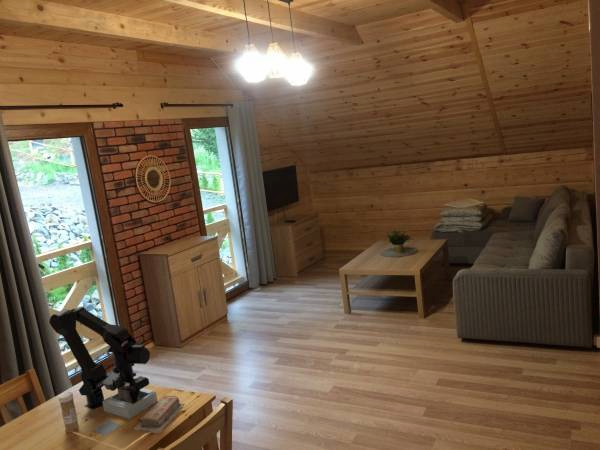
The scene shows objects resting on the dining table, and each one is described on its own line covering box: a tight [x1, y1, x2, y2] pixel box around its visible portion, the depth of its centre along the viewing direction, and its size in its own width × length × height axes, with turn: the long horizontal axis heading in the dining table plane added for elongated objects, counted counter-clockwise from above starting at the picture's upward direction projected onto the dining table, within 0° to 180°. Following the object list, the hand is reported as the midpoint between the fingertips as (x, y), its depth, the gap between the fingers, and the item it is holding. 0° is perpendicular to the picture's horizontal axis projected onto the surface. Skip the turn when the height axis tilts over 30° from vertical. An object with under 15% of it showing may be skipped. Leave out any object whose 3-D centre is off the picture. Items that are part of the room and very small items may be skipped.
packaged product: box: [133, 395, 186, 434], centre depth 186 cm, size 18×5×10 cm
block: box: [116, 384, 140, 405], centre depth 195 cm, size 4×6×8 cm, turn 147°
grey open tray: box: [102, 387, 158, 420], centre depth 196 cm, size 14×13×5 cm
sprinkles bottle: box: [58, 391, 80, 434], centre depth 184 cm, size 5×5×14 cm
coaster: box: [91, 420, 122, 436], centre depth 182 cm, size 7×7×1 cm
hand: (130, 401), depth 196 cm, fingers open, 5 cm apart
